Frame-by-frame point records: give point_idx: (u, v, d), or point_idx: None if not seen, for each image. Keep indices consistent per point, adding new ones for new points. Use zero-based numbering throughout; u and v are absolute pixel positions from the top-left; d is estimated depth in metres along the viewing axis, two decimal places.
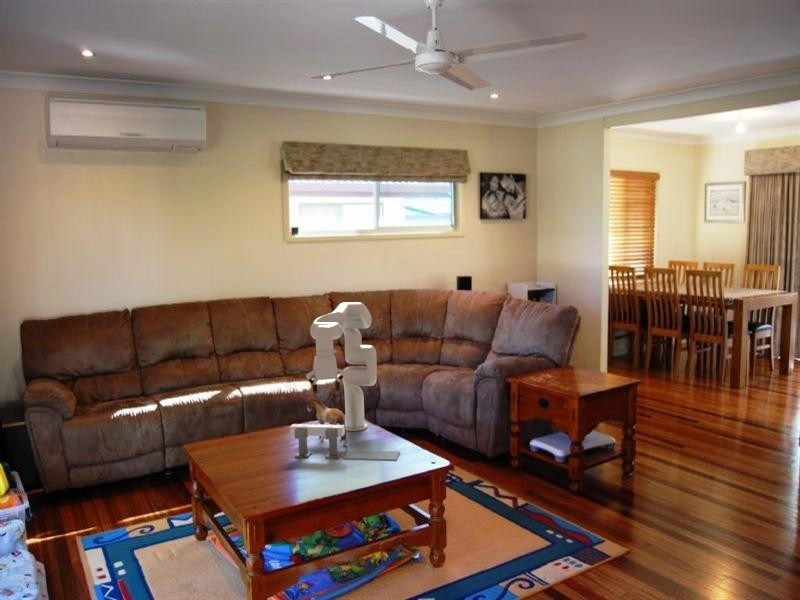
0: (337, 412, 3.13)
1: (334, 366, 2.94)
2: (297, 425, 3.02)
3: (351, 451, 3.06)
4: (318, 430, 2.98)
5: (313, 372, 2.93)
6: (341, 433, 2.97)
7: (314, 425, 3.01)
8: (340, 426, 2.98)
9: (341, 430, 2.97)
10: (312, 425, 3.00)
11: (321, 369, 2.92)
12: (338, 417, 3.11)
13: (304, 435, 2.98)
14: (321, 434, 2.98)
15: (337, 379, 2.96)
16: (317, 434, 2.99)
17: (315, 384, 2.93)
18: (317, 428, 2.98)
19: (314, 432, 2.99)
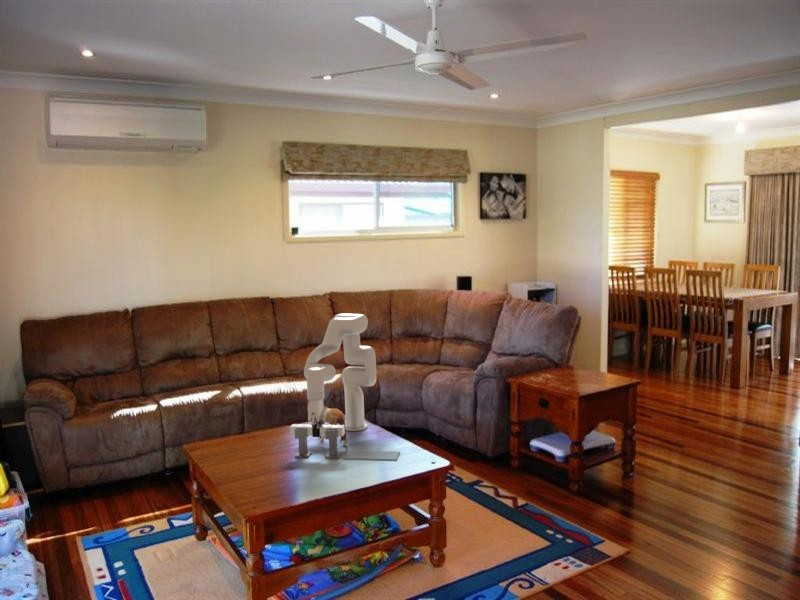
0: (337, 412, 3.13)
1: (323, 405, 3.03)
2: (297, 425, 3.02)
3: (351, 451, 3.06)
4: None
5: (314, 419, 2.95)
6: (341, 433, 2.97)
7: None
8: (340, 426, 2.98)
9: (341, 430, 2.97)
10: None
11: (319, 411, 2.97)
12: (338, 417, 3.11)
13: (304, 435, 2.98)
14: (321, 434, 2.98)
15: (321, 422, 3.02)
16: None
17: None
18: None
19: None
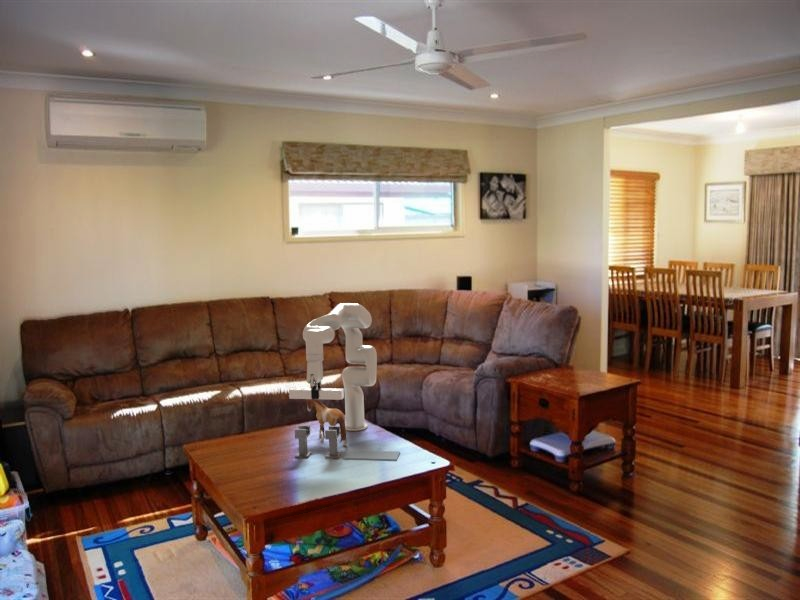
0: (337, 412, 3.13)
1: (322, 367, 3.01)
2: (296, 388, 3.00)
3: (351, 451, 3.06)
4: None
5: (313, 381, 2.93)
6: (340, 396, 2.95)
7: None
8: (339, 389, 2.96)
9: (340, 393, 2.95)
10: None
11: (318, 372, 2.95)
12: (338, 417, 3.11)
13: (304, 435, 2.98)
14: (320, 397, 2.97)
15: (320, 384, 3.00)
16: None
17: (317, 390, 2.96)
18: None
19: None
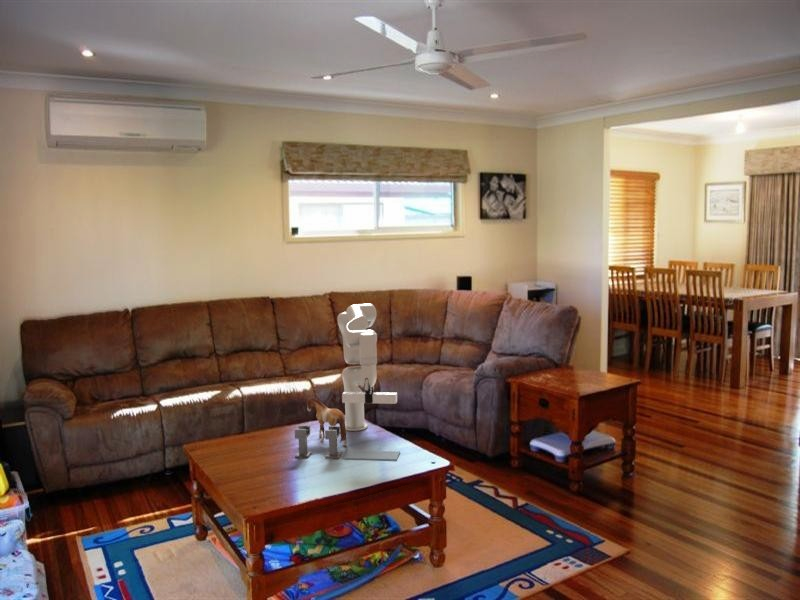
0: (337, 412, 3.13)
1: (375, 371, 2.99)
2: (349, 392, 2.98)
3: (351, 451, 3.06)
4: None
5: (367, 385, 2.91)
6: (394, 400, 2.93)
7: None
8: (393, 393, 2.95)
9: (394, 397, 2.93)
10: (364, 393, 2.97)
11: (372, 376, 2.93)
12: (338, 417, 3.11)
13: (304, 435, 2.98)
14: (374, 401, 2.95)
15: (373, 388, 2.99)
16: None
17: (370, 394, 2.94)
18: None
19: None
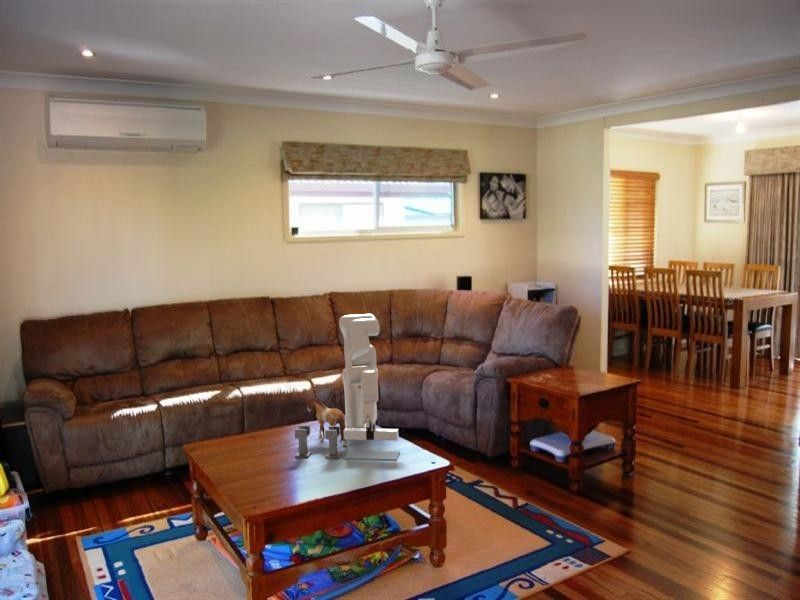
0: (337, 412, 3.13)
1: (376, 407, 3.01)
2: (350, 429, 3.00)
3: (351, 451, 3.06)
4: None
5: (369, 422, 2.93)
6: (395, 437, 2.95)
7: None
8: (394, 430, 2.96)
9: (395, 434, 2.95)
10: (365, 429, 2.99)
11: (373, 413, 2.95)
12: (338, 417, 3.11)
13: (304, 435, 2.98)
14: (375, 438, 2.97)
15: (374, 424, 3.00)
16: None
17: (372, 430, 2.96)
18: None
19: None
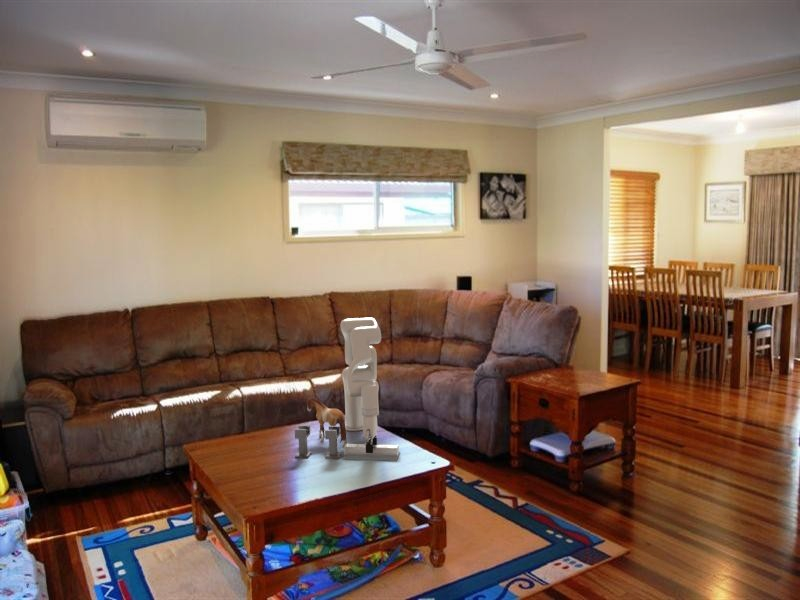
0: (337, 412, 3.13)
1: None
2: (351, 445, 3.01)
3: None
4: None
5: (369, 433, 2.93)
6: (396, 453, 2.96)
7: None
8: (394, 446, 2.97)
9: (396, 450, 2.96)
10: None
11: (374, 427, 2.96)
12: (338, 417, 3.11)
13: (304, 435, 2.98)
14: (375, 454, 2.98)
15: (376, 435, 3.03)
16: (371, 454, 2.98)
17: (371, 444, 2.95)
18: None
19: None
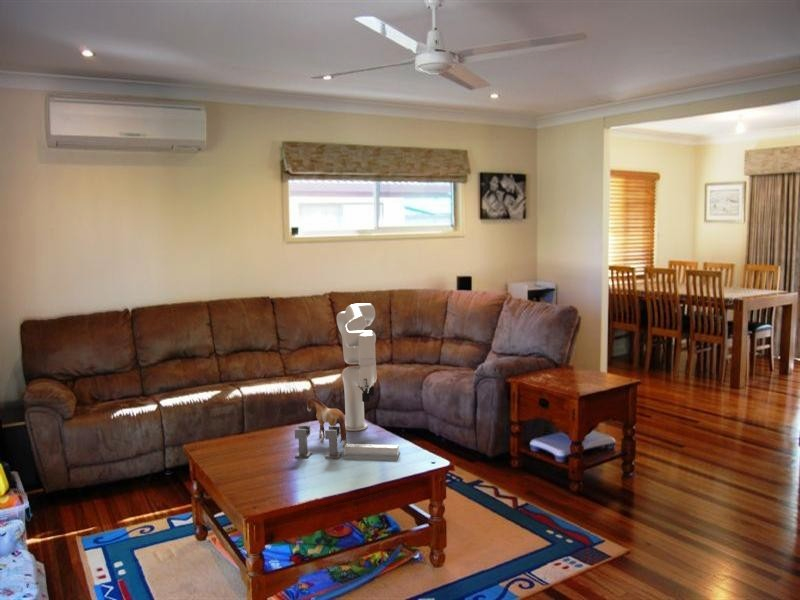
0: (337, 412, 3.13)
1: None
2: (351, 445, 3.01)
3: None
4: (372, 450, 2.98)
5: (366, 381, 2.94)
6: (396, 453, 2.96)
7: (368, 445, 3.00)
8: (394, 446, 2.97)
9: (396, 450, 2.96)
10: (366, 446, 3.00)
11: (371, 377, 2.97)
12: (338, 417, 3.11)
13: (304, 435, 2.98)
14: (375, 454, 2.98)
15: (373, 384, 3.05)
16: (371, 454, 2.98)
17: (368, 393, 2.96)
18: (371, 449, 2.98)
19: (368, 452, 2.98)
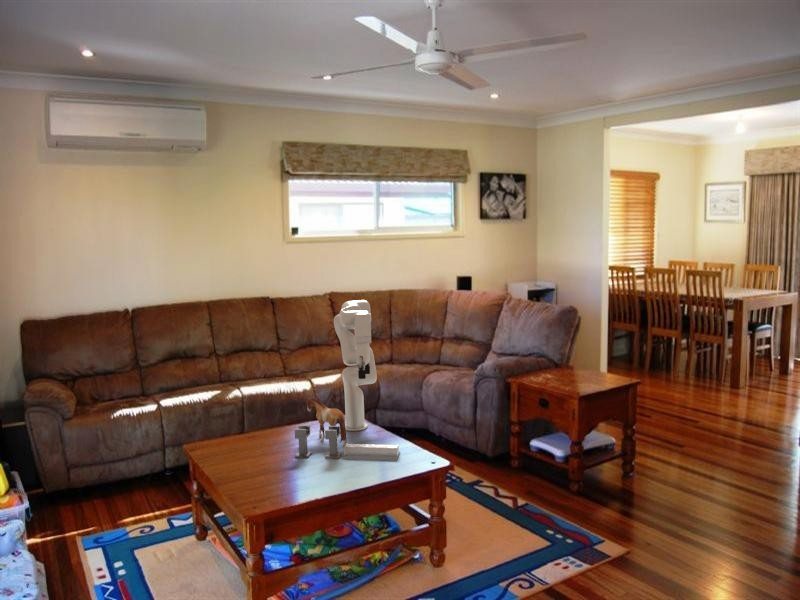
0: (337, 412, 3.13)
1: None
2: (351, 445, 3.01)
3: None
4: (372, 450, 2.98)
5: (362, 358, 3.03)
6: (396, 453, 2.96)
7: (368, 445, 3.00)
8: (394, 446, 2.97)
9: (396, 450, 2.96)
10: (366, 446, 3.00)
11: (367, 354, 3.06)
12: (338, 417, 3.11)
13: (304, 435, 2.98)
14: (375, 454, 2.98)
15: (369, 362, 3.14)
16: (371, 454, 2.98)
17: (364, 370, 3.04)
18: (371, 449, 2.98)
19: (368, 452, 2.98)
